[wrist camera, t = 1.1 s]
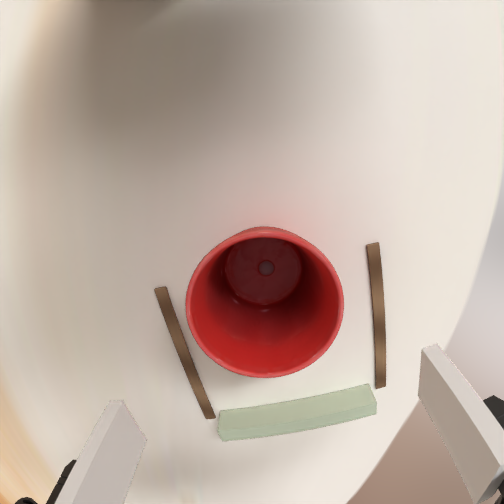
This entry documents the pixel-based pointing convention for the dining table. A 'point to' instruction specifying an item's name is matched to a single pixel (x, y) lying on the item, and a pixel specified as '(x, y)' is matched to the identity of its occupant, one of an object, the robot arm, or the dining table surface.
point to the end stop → (297, 414)
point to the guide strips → (379, 331)
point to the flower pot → (264, 303)
